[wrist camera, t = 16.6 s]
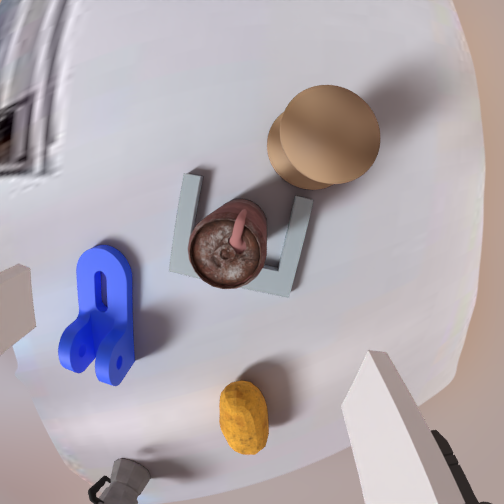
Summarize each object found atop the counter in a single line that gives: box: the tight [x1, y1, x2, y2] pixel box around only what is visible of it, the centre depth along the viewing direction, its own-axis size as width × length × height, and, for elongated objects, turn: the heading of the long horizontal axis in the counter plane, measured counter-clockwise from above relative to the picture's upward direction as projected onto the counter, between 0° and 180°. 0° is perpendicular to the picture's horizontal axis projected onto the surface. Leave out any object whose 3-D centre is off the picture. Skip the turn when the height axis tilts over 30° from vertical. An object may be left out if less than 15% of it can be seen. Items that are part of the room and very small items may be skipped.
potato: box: [219, 380, 269, 455], centre depth 39 cm, size 7×14×7 cm, turn 4°
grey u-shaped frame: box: [169, 174, 314, 298], centre depth 35 cm, size 12×15×2 cm
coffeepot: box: [88, 459, 151, 504], centre depth 42 cm, size 15×9×18 cm, turn 19°
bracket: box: [58, 245, 135, 386], centre depth 35 cm, size 18×8×9 cm, turn 172°
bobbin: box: [267, 85, 380, 190], centre depth 27 cm, size 10×10×12 cm
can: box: [188, 199, 267, 289], centre depth 29 cm, size 6×6×14 cm
